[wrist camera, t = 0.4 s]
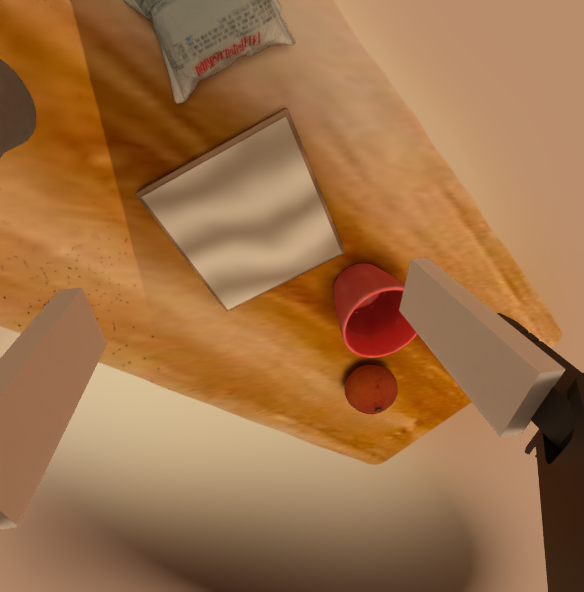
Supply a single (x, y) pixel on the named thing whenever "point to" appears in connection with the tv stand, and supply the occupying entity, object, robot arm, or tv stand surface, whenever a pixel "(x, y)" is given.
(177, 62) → the packaged food
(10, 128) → the vase
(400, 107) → the tv stand surface
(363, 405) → the fruit
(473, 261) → the tv stand surface
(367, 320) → the flower pot
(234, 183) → the stand
